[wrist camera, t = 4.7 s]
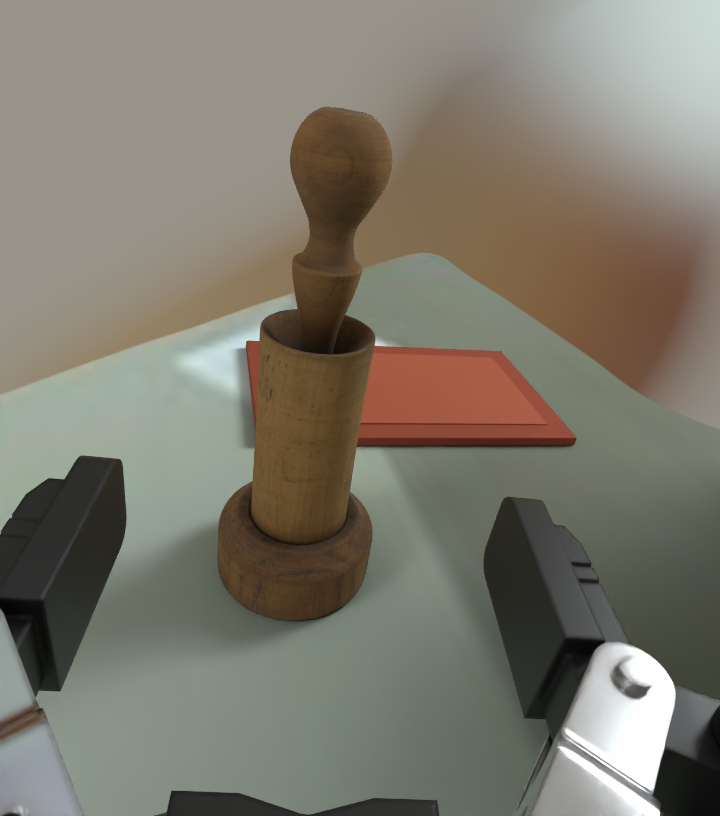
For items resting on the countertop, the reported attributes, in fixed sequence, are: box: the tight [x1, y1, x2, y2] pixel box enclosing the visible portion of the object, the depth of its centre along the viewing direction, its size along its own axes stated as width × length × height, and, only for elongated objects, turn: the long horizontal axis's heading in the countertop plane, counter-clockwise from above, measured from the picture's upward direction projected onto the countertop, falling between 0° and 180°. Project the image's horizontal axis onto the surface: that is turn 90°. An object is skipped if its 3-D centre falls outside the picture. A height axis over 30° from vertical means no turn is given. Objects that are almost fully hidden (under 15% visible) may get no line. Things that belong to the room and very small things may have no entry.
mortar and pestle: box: [218, 107, 392, 621], centre depth 22 cm, size 7×6×18 cm
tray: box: [246, 341, 576, 446], centre depth 40 cm, size 20×12×1 cm, turn 102°
